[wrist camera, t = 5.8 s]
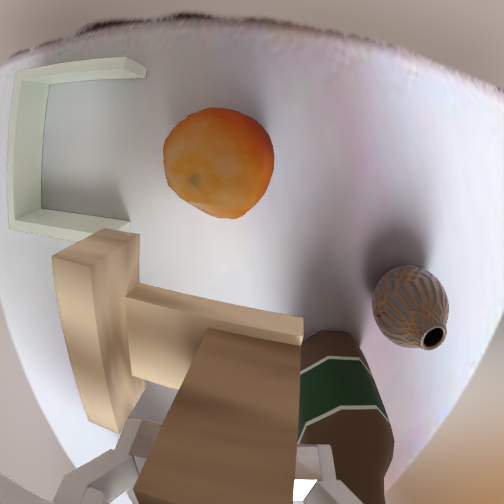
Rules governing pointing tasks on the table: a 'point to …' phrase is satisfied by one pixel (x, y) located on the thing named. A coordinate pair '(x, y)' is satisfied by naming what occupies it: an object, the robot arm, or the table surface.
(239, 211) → the fruit
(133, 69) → the tray
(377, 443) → the beer bottle
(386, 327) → the vase
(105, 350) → the angled wooden block structure
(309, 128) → the table surface
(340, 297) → the table surface
